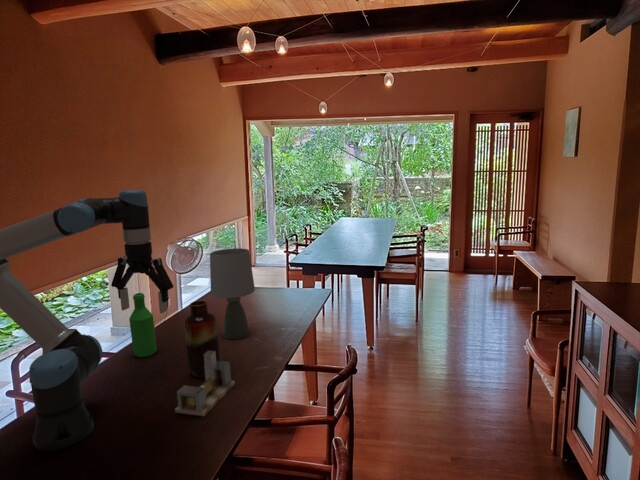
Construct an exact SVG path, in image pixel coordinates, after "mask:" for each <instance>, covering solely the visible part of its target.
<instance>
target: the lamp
mask: <svg viewBox="0 0 640 480" xmlns="http://www.w3.org/2000/svg"><path fill="white" fill-rule="evenodd" d="M251 259H252V258H251V254H250V250H249V249H247V248H241V247H240V248H239V247H238V248H237V247H236V248H235V247H234V248H224V249H219V250H214V251H211V252H210V253H209V270H210V271H209V273H210V275H209V276H210V295H211V296H212V297H214V298H217V299H226V302H227V304H226V309H225V312H224V317H223V318H224V320H223V338H225V339H227V340H241V339H244V338H246V337H248V336H249V335H250V328H249V323H248V319H247V315H246V312H245V309H244V307H243V305H242V303H241V302H240V301H241V299H242V298H241V297H246V296H248V295H251V294H253V293H254V292H255V291H256V287H255V282H254V275H253V269H252V268H253V267H252V262H251Z"/></svg>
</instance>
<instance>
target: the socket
mask: <svg viewBox="0 0 640 480" xmlns="http://www.w3.org/2000/svg"><path fill="white" fill-rule="evenodd" d="M216 363H217V371H221V376H222V386H226V385H227V384H228V383H229V382H230V381H232V374H231V364H230V363H231V362H230V361H224V360H220V361H216ZM204 370H205V365H204ZM204 380H205V381H206V374H205V378H204Z"/></svg>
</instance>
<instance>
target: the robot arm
mask: <svg viewBox="0 0 640 480" xmlns="http://www.w3.org/2000/svg"><path fill="white" fill-rule="evenodd" d="M118 194H119V195H118V197H100V198H99V197H97V198H96V197H95V198H93V197H89V198H87V197H86V198H81V199H78V200H77V201H75V202H72V203H68V204H66V205H64V206H62V207H60V208H57V209H53V210H51V211H48V212H46V213H41V214H40V215H37V216H35V217H32V218H28V219H26V220H23V221H20V222H18V223H14V224H11V225H8V226H6V227H3V228H0V310H2V311H3V312H4V313H5V314H6V315H7V316H8V317H9V318H10V319H11V320H12V321H13V322H14V323H15V324H17V326H19V327H20V328H21V330H22V331H23V332H24V333H26V335H28V337H30V338H31V339H32V340H33V341H34V342H35V343H36V344H37V345H38V346H39V347H40V348H41V349H42V353H41V355H39V356H38V357H36V358H35V359H34V360H33V361H32V362H31V364H30V366H29V368H28V369H29V370H28V371H29V383H30V386H31V391H32V392H31V393H32V398H33V403H34V404H33V405H34V409H35V415H36V418H35V425H34V430H33V432H32V443H33V446H34V448H35V449H37V450H40V451H44V452H46V451H47V452H49V451H50V452H51V451H57V450H62V449H66V448H69V447H71V446H74V445H76V444H78V443H80V442H81V441H83V440H85V439H86V438H87V437H88V436H89V435H91V434H92V432H93V431H94V427H95V425H94V420H93V419H94V418H93V416H92V415H91V413H90V411H89V410H88V408H87V407H86V405H85V403H84V398H83V390H82V384H83V383H84V382H85V381H86V380H87V379H88V378H89V376H90V375H91V374H92V373H93V372H94V371H95V370H96V369H97V368H98V366H99V364H100V363H101V360H102V359H103V348H102V345H101V343H100V342H99V340H98V339H97V338H95V337H94V336H92V335H90V334H85V333H84V334H82V333H81V332H80V330H78V329H77V328H68V327H67V326H66V325H65V324H64V323H63V322H62V321H61V320H60V319H59V318H58V317H57V316H56V315H55V313H53V312H52V311H51V310H50V309H49V308H48V307H46V305H45V304H44V303H43V302H42V301H40V299H39V298H37V296H36V295H35V294H34V293H32V291H31V290H29V289H28V287H26V286H25V285H24V283H23V282H22V281H20V279H19V278H18V277H17V276H16V275H15V274H13V273H12V271H10V270H11V269H10V268H11V263H10V262H9V260H8V259H7V258H11V257H13V256H17V255H19V254H22V253H24V252H28V251H31V250H33V249H36V248H38V247H41V246H44V245H46V244H50V243H52V242H55V241H58V240H61V239H64V238H66V237H69V236H73V235H76V234H79V233H82V232H84V231H88V230H89V229H92V228H95V227H97V226H100V225H105V224H106V225H107V224H121V226H122V234H123V235H122V236H123V237H122V238H123V242H124V243H125V244H124V254H125V256H122V257H118V258H117V265H116V270H115V272H114V274H113V278H112V280H111V284H110V285H111V287H112V288H116V289H117V294H118V299H120V307H121V311H125V310H128V309H129V308H130V299H129V289H128V287H127V284H128V283H129V281H130V280H131V278H132V276H133V275H134V274H138V273H139V274H144V275H145V276H148V277H149V279H150V280H151V281H152V283H153V284H154V285H155V286H156V288H157V289H158V290H159V291H157V295H158V306H159V314H164V313H165V312H167V311H168V304H167V302H168V301H169V290H172V289H173V288H174V283H173V282H172V280H171V278H170V276H169V274H168V273H167V271H166V269H165V267H164V265H163V261H162V258H161V257H158V258H153V257H152V254H153V248H152V247H153V246H152V242H151V239H152V238H151V237H152V235H151V227H150V225H151V224H150V217H149V216H150V214H149V213H150V212H149V204H148V198H147V193H146V191H145V190H142V189H128V190H127V189H126V190H120V191H119V192H118ZM127 266H128V267H127ZM126 267H127V269H126ZM124 272H125V273H124Z"/></svg>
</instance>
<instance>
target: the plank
mask: <svg viewBox="0 0 640 480" xmlns="http://www.w3.org/2000/svg"><path fill="white" fill-rule="evenodd" d="M235 385H236V382H235V380H231V381H230V382H229V383H228V384H227V385H226V386H222V381H221V382H220V383H219V384H218V386H217V387H216V388H215V389H212V390H211V391H210V392H209V393H208V394H207V395H206V401H207V406H206V407H205V408H204V409H203V410H202V411H201V412H196V406H195V407H194V408H193V409H189V408H187V407H185V408H183V409H182V410H179V409H178V406H177V407H175V408H174V414H175V413H176V414H184V415H191V416H199V417H205V416H206V415H207V414H209V412H210V411H211V410H212V409H213V408H214V407H215V406H216V405H217V404H218V403H219V402H220V400H222V398H223V397H224V396H225V395H226V394H227V393H229V391H230V390H231V389H232V388H233V387H234V386H235Z"/></svg>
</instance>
